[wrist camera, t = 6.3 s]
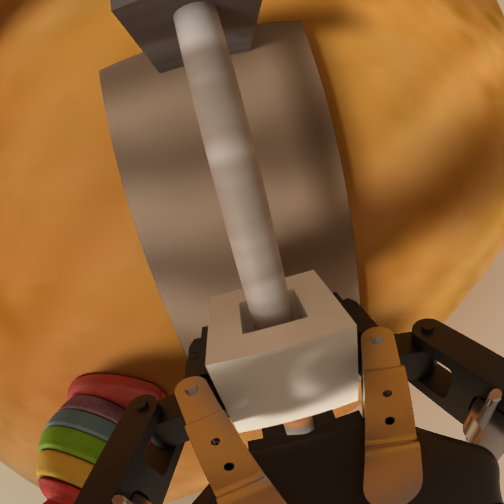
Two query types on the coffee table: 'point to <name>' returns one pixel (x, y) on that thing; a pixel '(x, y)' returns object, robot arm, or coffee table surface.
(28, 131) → the coffee table surface
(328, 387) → the sleeve
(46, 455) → the stacking bear
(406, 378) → the robot arm
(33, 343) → the coffee table surface
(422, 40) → the coffee table surface
